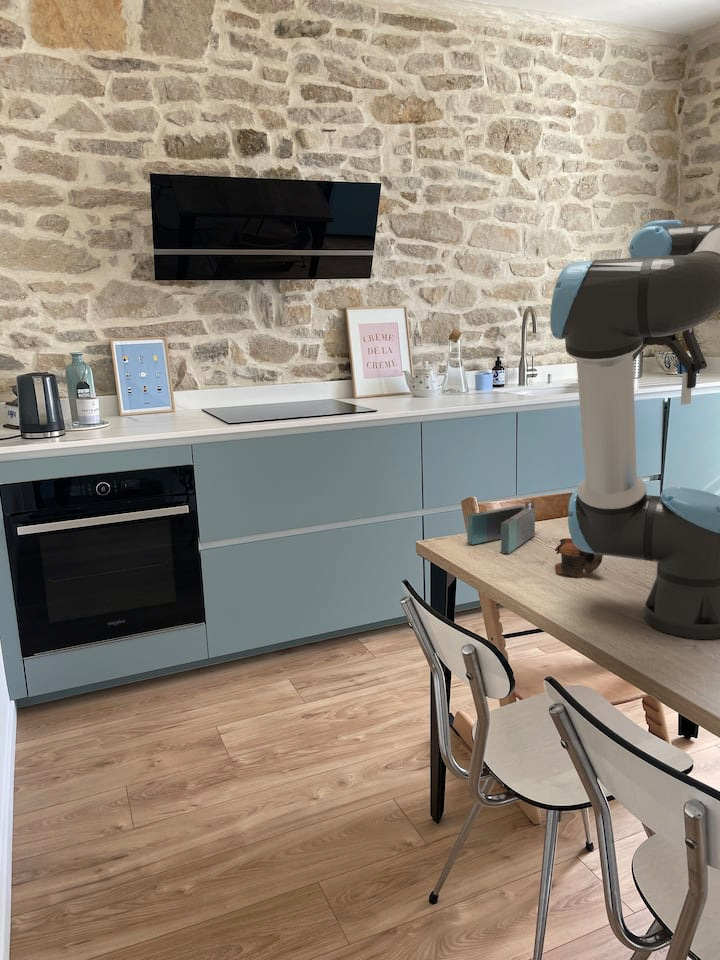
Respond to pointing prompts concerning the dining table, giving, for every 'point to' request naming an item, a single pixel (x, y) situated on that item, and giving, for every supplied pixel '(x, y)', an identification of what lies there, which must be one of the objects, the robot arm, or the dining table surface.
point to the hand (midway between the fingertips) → (654, 402)
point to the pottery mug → (575, 559)
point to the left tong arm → (489, 524)
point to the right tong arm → (517, 530)
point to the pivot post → (529, 504)
